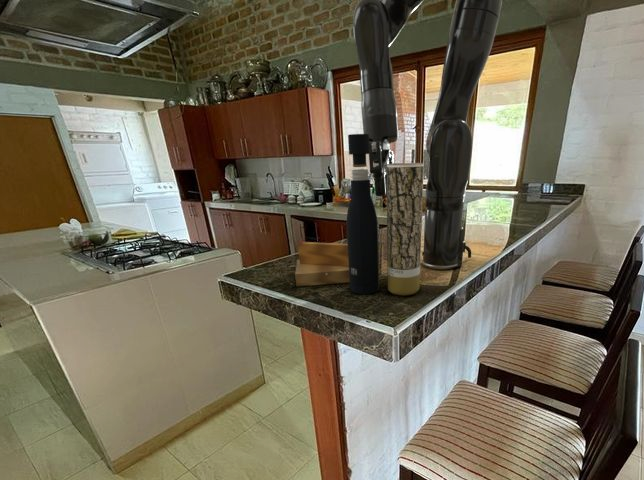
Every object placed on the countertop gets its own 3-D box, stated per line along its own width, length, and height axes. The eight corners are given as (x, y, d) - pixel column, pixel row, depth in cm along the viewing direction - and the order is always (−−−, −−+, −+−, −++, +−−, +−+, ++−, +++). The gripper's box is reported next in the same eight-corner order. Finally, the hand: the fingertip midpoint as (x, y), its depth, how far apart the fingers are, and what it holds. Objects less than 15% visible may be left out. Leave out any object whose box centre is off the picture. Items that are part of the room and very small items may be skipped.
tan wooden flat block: (351, 264, 80) (350, 242, 78) (349, 266, 79) (348, 244, 76) (302, 261, 83) (300, 240, 81) (299, 263, 82) (297, 242, 80)
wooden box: (357, 263, 91) (356, 252, 90) (365, 285, 76) (365, 271, 74) (293, 268, 89) (291, 256, 88) (288, 291, 74) (286, 277, 72)
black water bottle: (380, 284, 76) (377, 134, 63) (377, 294, 70) (374, 132, 57) (352, 283, 77) (344, 136, 64) (347, 294, 71) (337, 134, 58)
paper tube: (410, 299, 68) (414, 163, 57) (381, 293, 71) (379, 164, 60) (424, 288, 73) (429, 162, 62) (396, 283, 76) (397, 163, 65)
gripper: (389, 105, 65) (395, 193, 69) (402, 122, 78) (407, 196, 82) (352, 112, 67) (360, 197, 71) (371, 128, 80) (377, 199, 84)
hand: (385, 196), depth 77 cm, fingers open, 8 cm apart
